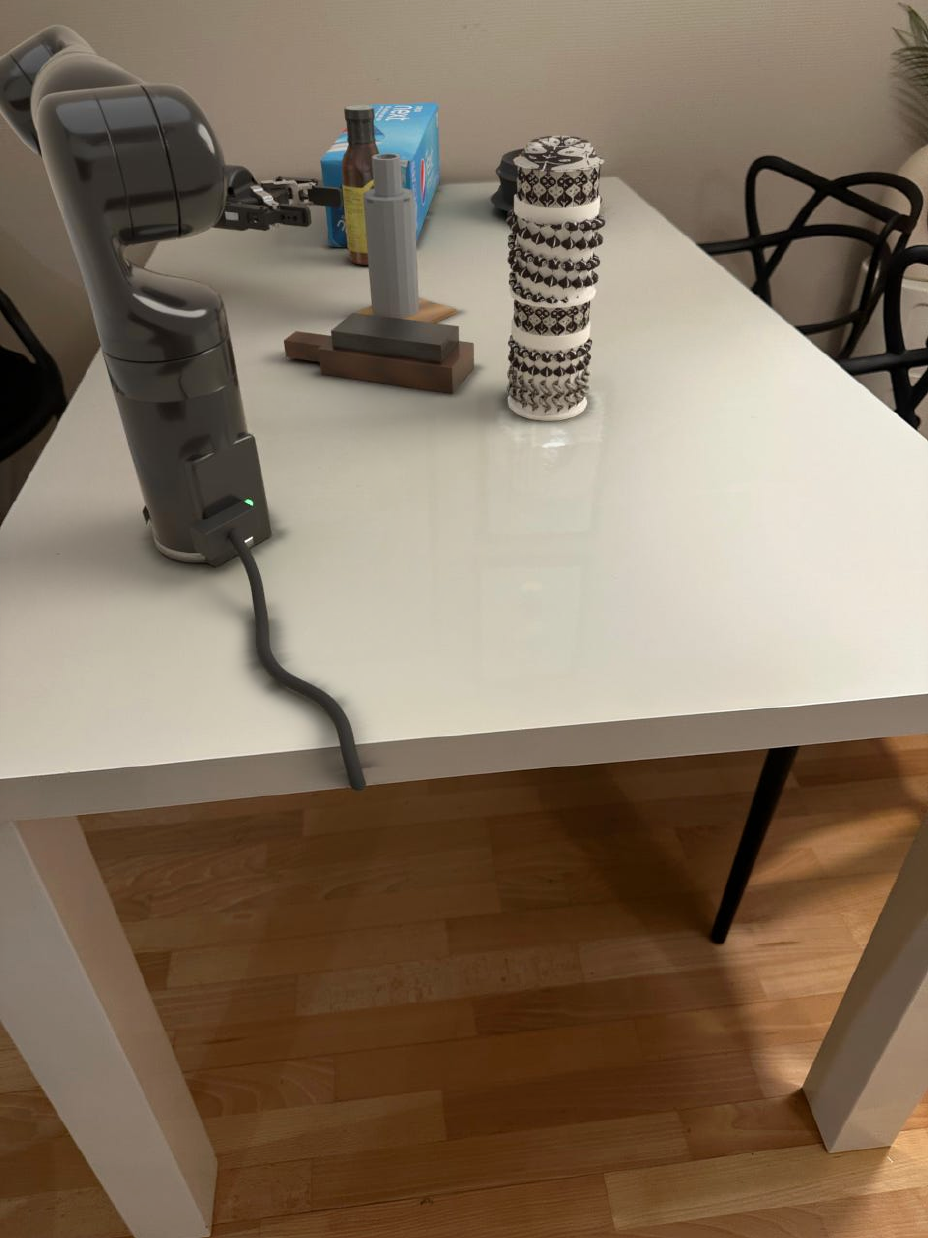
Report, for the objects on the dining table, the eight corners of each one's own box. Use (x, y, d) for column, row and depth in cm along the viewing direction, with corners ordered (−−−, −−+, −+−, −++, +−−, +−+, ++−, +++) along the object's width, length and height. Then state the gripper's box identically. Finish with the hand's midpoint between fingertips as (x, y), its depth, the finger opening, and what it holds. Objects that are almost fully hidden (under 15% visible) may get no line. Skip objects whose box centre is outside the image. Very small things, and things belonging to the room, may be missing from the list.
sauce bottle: (384, 268, 129) (374, 112, 116) (343, 265, 130) (328, 111, 117) (396, 253, 134) (387, 102, 121) (356, 251, 135) (343, 101, 122)
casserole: (476, 195, 158) (476, 142, 153) (577, 188, 161) (580, 136, 156) (508, 237, 139) (509, 178, 134) (622, 228, 142) (628, 170, 137)
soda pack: (369, 180, 167) (363, 102, 159) (442, 181, 166) (440, 101, 158) (326, 248, 136) (316, 155, 128) (415, 249, 135) (410, 155, 127)
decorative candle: (519, 428, 91) (527, 157, 75) (493, 389, 98) (494, 134, 82) (603, 415, 92) (628, 148, 77) (571, 379, 99) (588, 127, 83)
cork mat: (456, 312, 115) (456, 308, 115) (406, 335, 110) (406, 331, 109) (402, 296, 120) (402, 292, 120) (352, 317, 114) (352, 313, 114)
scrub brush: (474, 368, 102) (473, 325, 99) (452, 393, 97) (451, 349, 94) (306, 344, 108) (301, 303, 105) (278, 367, 103) (271, 325, 100)
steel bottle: (428, 309, 115) (422, 155, 104) (395, 322, 112) (385, 165, 100) (396, 298, 118) (386, 147, 107) (362, 311, 115) (349, 157, 103)
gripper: (174, 178, 107) (294, 189, 102) (237, 150, 117) (348, 159, 113) (187, 243, 112) (302, 256, 107) (246, 211, 122) (354, 222, 117)
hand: (326, 206), depth 110 cm, fingers open, 8 cm apart
